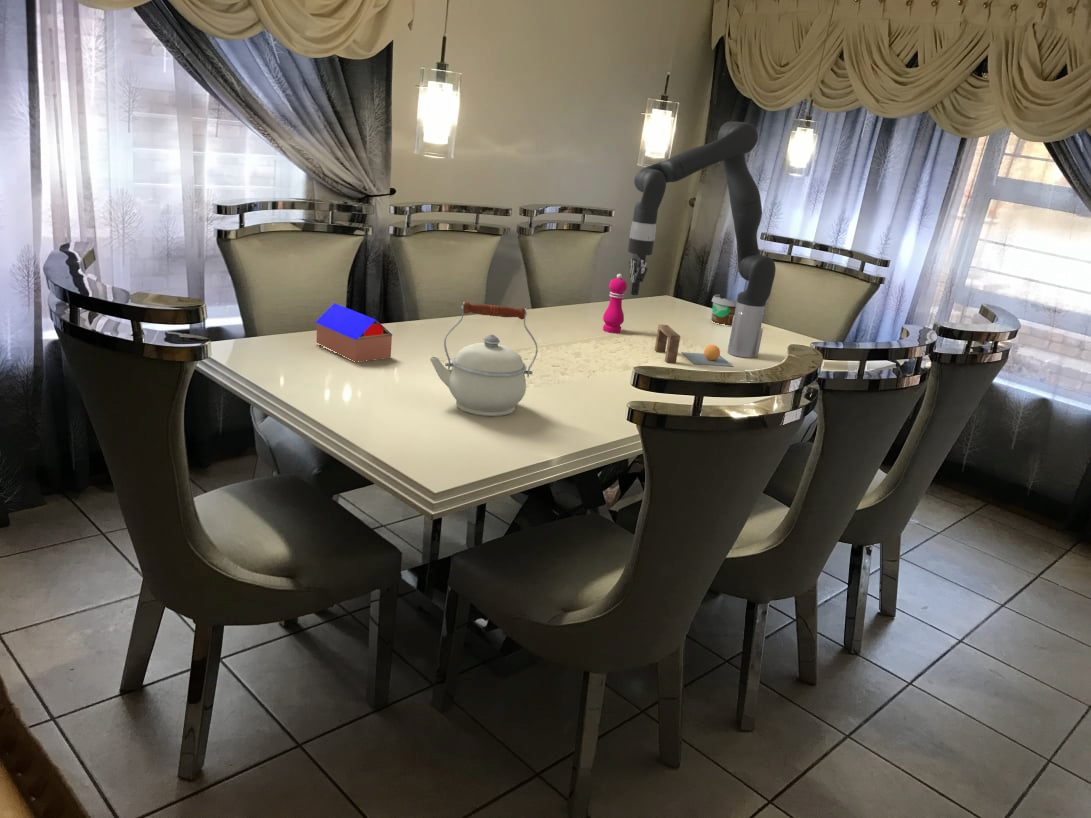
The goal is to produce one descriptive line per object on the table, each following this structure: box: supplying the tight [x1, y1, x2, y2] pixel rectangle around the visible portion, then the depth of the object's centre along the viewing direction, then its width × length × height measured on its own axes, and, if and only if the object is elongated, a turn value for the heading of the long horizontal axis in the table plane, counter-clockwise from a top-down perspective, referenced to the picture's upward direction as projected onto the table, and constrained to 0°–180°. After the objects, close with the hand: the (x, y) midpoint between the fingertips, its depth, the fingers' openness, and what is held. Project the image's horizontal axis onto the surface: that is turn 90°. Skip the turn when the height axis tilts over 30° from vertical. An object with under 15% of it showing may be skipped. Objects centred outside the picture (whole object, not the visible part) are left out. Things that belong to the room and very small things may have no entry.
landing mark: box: [681, 351, 734, 368], centre depth 272 cm, size 13×13×1 cm
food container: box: [711, 294, 737, 326], centre depth 326 cm, size 12×6×10 cm, turn 25°
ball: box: [703, 344, 721, 361], centre depth 271 cm, size 5×5×5 cm
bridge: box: [654, 323, 681, 364], centre depth 268 cm, size 3×14×9 cm, turn 9°
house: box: [315, 303, 393, 363], centre depth 235 cm, size 12×20×12 cm, turn 46°
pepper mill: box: [602, 273, 628, 334], centre depth 292 cm, size 7×7×20 cm
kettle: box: [429, 301, 538, 417], centre depth 200 cm, size 25×18×25 cm
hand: (633, 294), depth 261 cm, fingers closed
